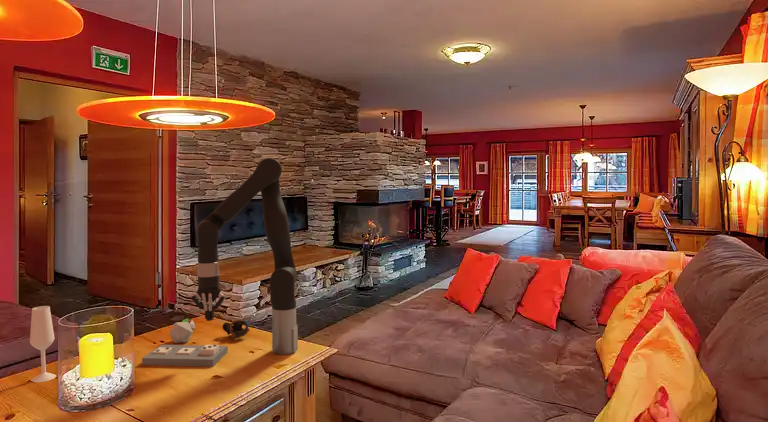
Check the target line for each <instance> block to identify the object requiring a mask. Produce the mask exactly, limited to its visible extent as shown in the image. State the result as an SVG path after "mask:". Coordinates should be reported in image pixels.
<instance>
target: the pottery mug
mask: <svg viewBox="0 0 768 422" xmlns="http://www.w3.org/2000/svg"><path fill="white" fill-rule="evenodd" d="M248 324H249V323H248V322H247V321H245V320H242V319H235V320H233V321H232V322H223V324H222V329H223V331H224V332H226V333H227V336H231V337H230V340H231V341H233V342H234V341H235V340H236V339H240V338H242V337H244V336H245V335H247V334H248V333H249V332H250V329H249V325H248ZM243 326H245V328H243Z"/></svg>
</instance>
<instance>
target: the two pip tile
mask: <svg viewBox="0 0 768 422" xmlns="http://www.w3.org/2000/svg"><path fill="white" fill-rule="evenodd" d="M158 347H159V346H158ZM158 347H157V348H158ZM154 350H155V349H154ZM172 350H173V348H169V347H159V348H158V349H157V350H155V351H154V352H153V354H168V353H169V352H171V351H172Z"/></svg>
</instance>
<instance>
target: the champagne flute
mask: <svg viewBox="0 0 768 422" xmlns="http://www.w3.org/2000/svg"><path fill="white" fill-rule="evenodd" d="M30 319H31V320H30V335H29V344H30V345H31V346H32V347H33V348H34V349H36V350H39V351H40V365H41V366H40V367H41V373H38V375H36V376H35V377H33V378H32V379H31V382H33V383H43V382H48V381H50V380H53V379H55V378H56V377H57V375H56V374H54V373H50V372H47V368H46V367H47V366H46V350H47V349H48V348H49V347H50V346H51V345H52V344H53V343H54V341H55V331H54V325H53V319H52V313H51V306H50V305H43V306H42V305H40V306H35V307H32V308H31V318H30Z"/></svg>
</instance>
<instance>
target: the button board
mask: <svg viewBox="0 0 768 422" xmlns="http://www.w3.org/2000/svg"><path fill="white" fill-rule="evenodd" d="M205 345H206V344H205ZM205 345H203V344H202V345H199V344H198V345H197V344H196V345H195V344H187V345H186V344H160V345H159V346H157V347H155V348H154V349H152V351H150V352H149V353H147V354H145V355H144V356H143V357H141V366H142V365H143V366H173V367H174V366H176V367H179V366H181V367H214V366H215V365H216V364H217V363H218V362H220V360H221V359H223V357H225V356H226V355H227V354H228V346H229V345H219V352H218V353H217V354H216V355H201V350H200V349H201V348H203V347H204V346H205ZM159 347H169V348H173V350H172V351H171V352H169V353H168V354H153V352H154V351H155V350H157V349H158V348H159ZM182 348H196V351H195V352H194V353H192V354H191V355H177V352H178V351H179V350H181V349H182Z"/></svg>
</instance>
